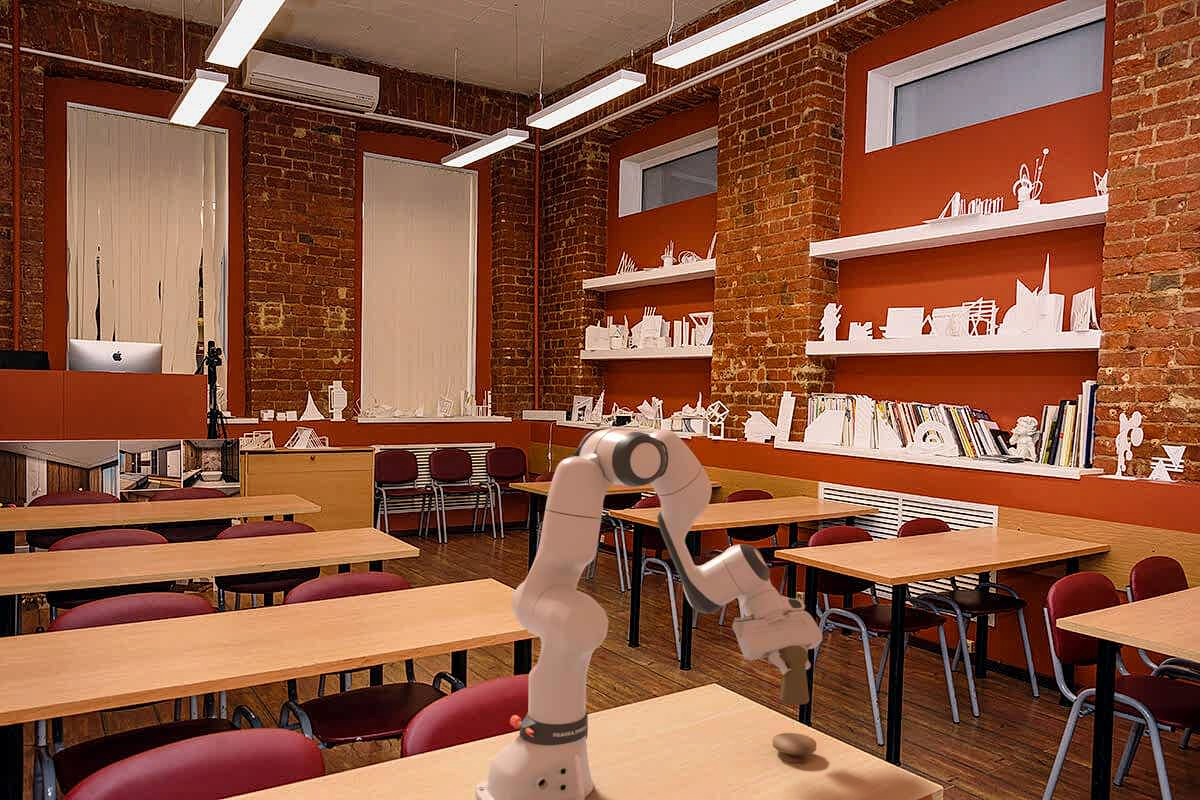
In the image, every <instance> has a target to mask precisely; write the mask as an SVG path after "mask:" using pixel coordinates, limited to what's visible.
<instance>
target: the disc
mask: <svg viewBox="0 0 1200 800" xmlns="http://www.w3.org/2000/svg"><path fill="white" fill-rule="evenodd" d="M772 747H773V748H775V749H776V750H777V751H776V754H777V755H776V756H777V758H779V760H781V761H783V762H786V763H789V764H806V763H808V762H810V761H812V753H815V751H816V750H817V742H816V740H815V739H814V738H812V737H810V736H807V735H806V734H801V733H797V732H796V733H795V732H784V733H779V734H775V736H773V737H772Z"/></svg>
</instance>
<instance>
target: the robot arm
mask: <svg viewBox="0 0 1200 800" xmlns="http://www.w3.org/2000/svg"><path fill="white" fill-rule="evenodd" d="M551 479H552V480H551V483H550V486H549V490H548V495H547V498H546V503H545V509H544V516H543V521H542V529H541V533H540V540H539V544H538V549H537V552H536V555H535V557H534V560H533V562H532V565H531V568H530V569H529V572H528V574H527V576H526V577H525V579H524V581H523V582H521V583H520V584H518V586H517V587H516V589H515V591H514V592H513V594H512V598H511V611H512V613H513V616H514V618H515V619H516V620H517V621H518V622H519V624H520V625H521V626H522V627H523V628H524V629H525V630H526V631H527V632H529V633H531V634H533V635H534V636H537V637H539V639H540V644H541V646H540V647H541V648H540V653H539V657H538V660H537V662H536V665H534V666H533V667H532V668H531V670H530V671H529V674H528V702H527V703H528V706H527V707H528V711H527V713H526V714H525V717H524V718H523V719H522V718H521V717H520V716H518V715H517V714H515V715H512V716H510V717H511V718H510V719H509V724H510V725H511V726H512V727H514V729H516V730H517V729H519V734H518V735H517V736H516V737H515V738H514V739H512V741H510V742H509V743H508V744H507V745H506V746H505V747H504V748H503V749H501V750H500V752H498V753H497V754H496V755H495V756H494V757H493V758H492V760H491V761H490V764H489V768H488V776H487V779H485V780H482V781H480V782H477V785H476V788H475V796H476V799H477V800H586V797H588V795H590V794H591V793H592V791H593V790H594V781H593V778H592V774H591V771H590V765H589V758H588V749H587V739H588V734H589V733H588V732H589V727H588V726H589V719H588V717H589V716H588V715H589V714H588V712H587V711H586V709H587V708H586V703H587V701H586V700H587V677H588V670H589V667H590V663H591V662H590V661H591V658H592V655H593V653H594V651H595V650H596V649H597V648H599V647H600V646H601V644H602V643H603V642H604V640H605V639H606V637H607V633H608V630H609V618H608V614H607V612H606V610H605V608H603V606H601V605H600V603H599V602H597V601H596V600H595V599H594V598H593V597H592V596H591V595H589V594H587V593H585V592H583V591H580V590H578V589H577V588H578V584H579V580H580V577H581V576H582V574H583V572H584V569H585V568H586V567H587V566H588V565H589V564H590V563H592V562H593V561H594V559H595V558H596V556H597V555H596V554H597V549H598V542H599V535H600V530H601V529H600V528H601V524H602V518H603V517H602V515H603V510H604V509H603V506H604V501H605V498H606V494H607V492H608V490H609V489H610V488H611V486H612V485H616V486H628V487H633V488H635V487H643V486H646V485H651V487H652V489H653V490H654V492H655V493H656V495H657V496H658V499H659V502H660V510H659V513H658V514H657V524H658V527H659V528H658V529H659V530H660V534H661V536H662V539H663V540H664V541H663V542H664V544H665V546H666V548H667V550H668V553H669V556H670V557H671V558H670V559H671V560H672V562H673V565H674V566H675V569H676V571H677V573H678V576H679V579H680V580H681V584H682V588H683V592H684V595H685V598H686V600H687V602H688V604H689V605H690V606H691V607H692V609H694V611H695V612H698V613H701V614H705V615H706V614H707V615H713V614H715V613H716V612H717V611H718V610H720V609H721V608H723V607H724V606H725V605H727V604H729V603H730V602H732V601H734V600H735V599H737V600H738V601H739V603H740V607H741V611H742V612H743V615H744V616H742V617H741V616H739V617H736V618H734V620H733V621H732V623H731V624H732V625H731V626H732V630H733V632H734V633H735V636H736V640H737V643H738V646H739V648H740V651H741V654H742V656H743V657H744V658H745V659H746V660H748V661H749V662H751V661H756V660H760V659H766V658H768V659H769V661H770V663H771V664H772V665H774V666H775V667H777V668H778V669H779V671H780V673H781V675H782V676H783V675H784V674H788V673H789V672H791V667H790V666H789V664H788V663H785V661H784V660H783V658H781V657H780V656H781V655H782V656H783V650H784V649H785V648H786V647H788V646H800V647H803V648H804V649H806V651H807V653H808V651H809V650H812V649H815V648H817V647H818V646H819V645H820V644H821V643H822V641H823V634H822V632H821V629H820V628H819V626H818V624H817V623H816V621H815V620H814V617H813V616H812V615H811V614H810V613H809V612H808V611H806V610H805V608H806V605H805V603H804V601H803V600H801V599H799V598H798V599H797V598H790V597H788V596H784V595H780V593H779V591H778V590H777V589H776V588H775V587H774V586H773V585H772V583H771V579H770V578H771V577H770V576H771V569H770V568H769V565H768V564H767V562H766V561H765V559H764V557H763V554H762V553H761V551H760V550H759V549H758V548H757V547H755V546H753V545H750V544H745V543H740V544H734V545H732V546H730V547H728V548H726V550H725V551H724V552H722V553H721V554H719V555H718V556H715V557H714V558H712V559H711V560H709V561H706V562H705V563H704V564H701V565H695V563H694V561H693V558H692V556H691V553H690V552H689V549H688V547H687V544H686V537H687V534H688V533H689V532H690V530H691V528H692V527H693V525H694V524H695V523H696V522H697V521H698V519H699V518H700V517H701V516H702V515H703V513H704V512H705V511H706V509H707V507H708V506H709V504H710V500H711V497H712V490H713V489H712V487H713V486H712V483H711V480H710V479H709V476H708V474H707V472H706V470H705V469H704V467H703V466H702V464H701V462H700V461H699V459H698V458H697V457H696V455H695V454H694V452H693V451H692V450H691V449H690V447H689V446H688V445H687V444H686V443H685V441H684V440H682V439H681V438H680V437H679V436H678V435H677V434H676V432H673V431H671V430H670V429H660V430H656V431H653V432H651V433H649V434H647V433H645V432H641V431H632V430H628V429H626V428H619V427H618V428H616V427H614V428H605V427H601V428H597V429H595V430H592V431H590V432H588V433H587V434H586V435H585V436H583V438H582V440H581V441H580V443H579V444H578V446H577V448H576V451H574V453H573V456H570V457H566V458H564V459H562V460H561V461H560V462H559V463H558V464H557V466H556V468H555V471H554V473H553V477H552V478H551ZM808 654H809V653H808ZM811 664H812V663H811V662H810V661H809V658H808V659H807V662H806V663H805V668H806V671H807V670H809V669H811Z"/></svg>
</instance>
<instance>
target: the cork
mask: <svg viewBox="0 0 1200 800" xmlns="http://www.w3.org/2000/svg"><path fill="white" fill-rule="evenodd" d="M807 659H808V660H809V653H807V651H806V649H804V648H803V647H800V646H788V647H786V648H785V649H784V650H783V654H782V660H783V661H784V662H785V663H788V664H789V666H790V667H791V672H789V673H788V674H784V675H783V674H782V682H781V689H780V695H779V700H780V701H781V702H784V703H785V704H789V705H795V706H797V705H806V704H808V703H809V702H810V695H809V687H808V686H809V685H808V677H807V670H806V668H805V663H806V662H807Z"/></svg>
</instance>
